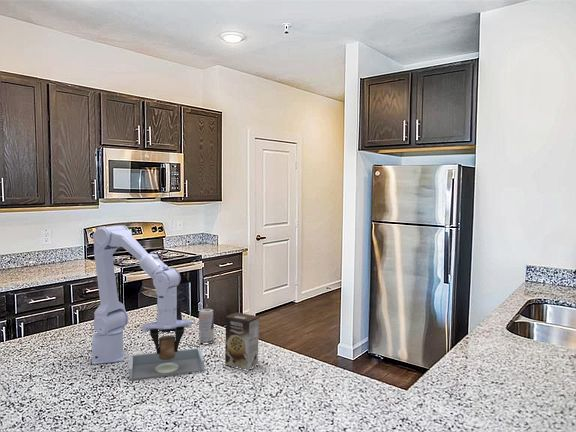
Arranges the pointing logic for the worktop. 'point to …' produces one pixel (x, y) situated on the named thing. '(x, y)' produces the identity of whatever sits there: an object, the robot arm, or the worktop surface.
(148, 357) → the grey tray
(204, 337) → the energy drink
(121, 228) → the robot arm
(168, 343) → the brown cylinder
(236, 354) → the coffee box
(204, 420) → the worktop surface
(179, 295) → the storage jar
